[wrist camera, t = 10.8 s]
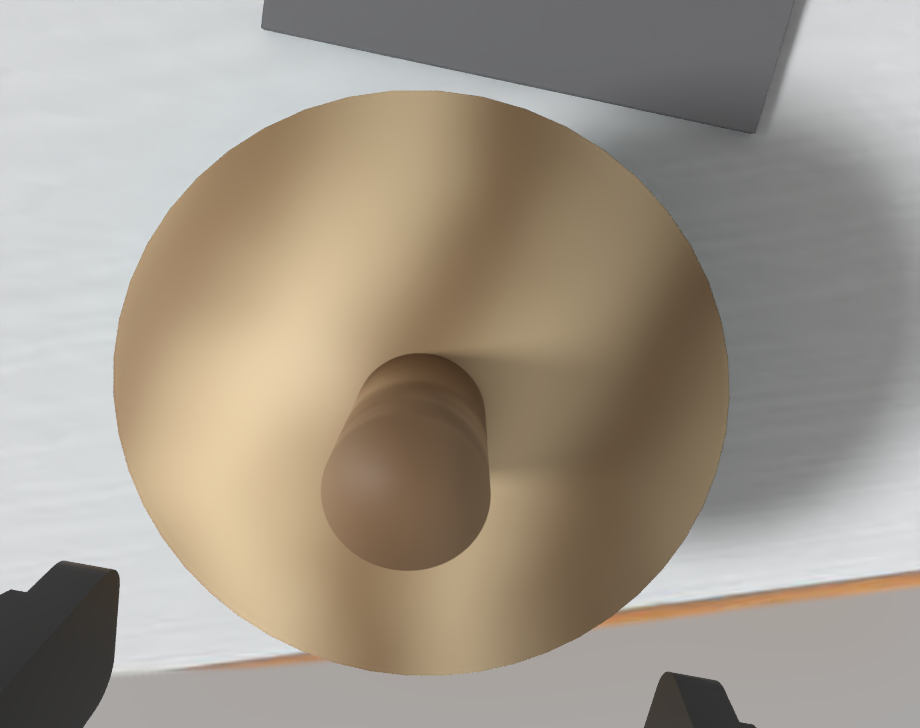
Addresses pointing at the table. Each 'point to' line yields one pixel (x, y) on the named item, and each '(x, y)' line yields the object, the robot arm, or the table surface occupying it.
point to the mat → (574, 46)
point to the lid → (421, 383)
